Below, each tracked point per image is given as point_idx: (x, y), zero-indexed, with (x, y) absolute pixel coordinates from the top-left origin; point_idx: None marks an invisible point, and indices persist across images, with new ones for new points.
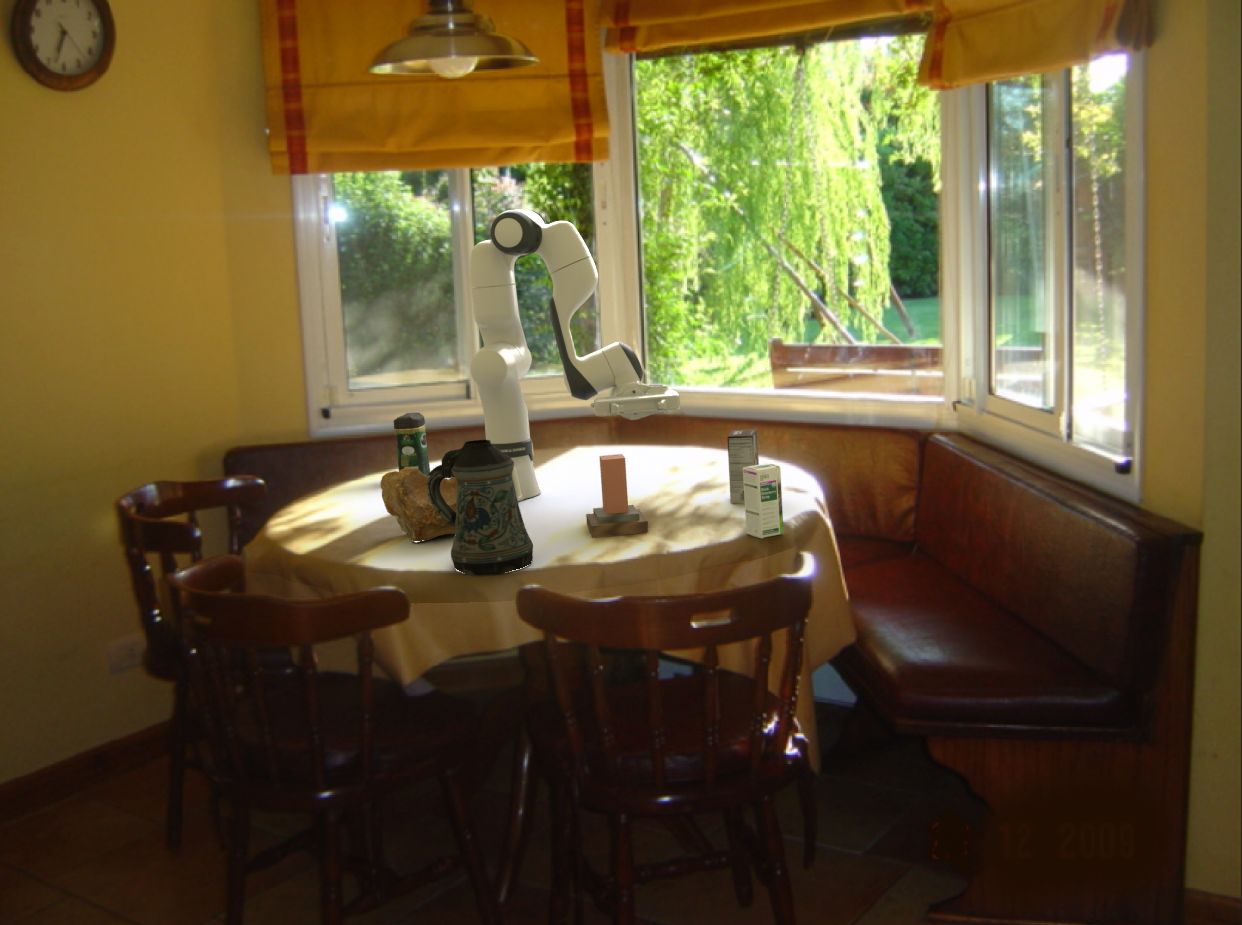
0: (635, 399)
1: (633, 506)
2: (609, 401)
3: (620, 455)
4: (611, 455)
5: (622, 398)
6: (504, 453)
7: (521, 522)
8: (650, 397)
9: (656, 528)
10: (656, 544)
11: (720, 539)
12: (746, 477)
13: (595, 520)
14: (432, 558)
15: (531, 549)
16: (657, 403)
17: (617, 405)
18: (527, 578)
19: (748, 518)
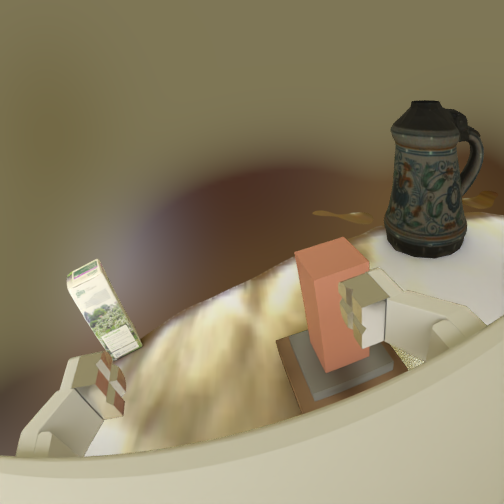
0: (261, 428)
1: (309, 380)
2: (501, 317)
3: (313, 268)
4: (338, 267)
5: (425, 404)
6: (406, 121)
7: (392, 197)
8: (97, 458)
9: (267, 376)
10: (260, 306)
11: (178, 327)
12: (107, 280)
13: None
14: (498, 239)
15: (385, 226)
16: (102, 374)
17: (389, 283)
18: (368, 220)
19: (132, 326)
